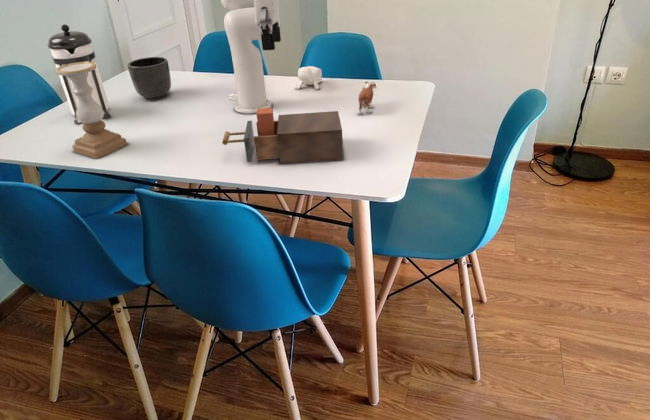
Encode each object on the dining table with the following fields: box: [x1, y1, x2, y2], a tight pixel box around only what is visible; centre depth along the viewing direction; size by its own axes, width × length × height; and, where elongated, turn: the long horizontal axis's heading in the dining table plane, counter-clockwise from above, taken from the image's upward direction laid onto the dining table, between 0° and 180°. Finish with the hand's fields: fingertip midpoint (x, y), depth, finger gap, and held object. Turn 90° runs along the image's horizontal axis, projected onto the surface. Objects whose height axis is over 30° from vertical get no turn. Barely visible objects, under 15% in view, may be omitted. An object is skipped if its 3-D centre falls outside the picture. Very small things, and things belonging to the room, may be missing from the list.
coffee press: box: [47, 23, 112, 125], centre depth 162 cm, size 17×16×30 cm
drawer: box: [222, 120, 280, 163], centre depth 133 cm, size 22×12×7 cm, turn 93°
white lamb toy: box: [295, 65, 323, 90], centre depth 182 cm, size 9×8×15 cm
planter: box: [127, 56, 172, 101], centre depth 180 cm, size 14×14×13 cm
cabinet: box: [277, 110, 344, 165], centre depth 134 cm, size 17×14×9 cm
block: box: [256, 107, 275, 136], centre depth 132 cm, size 4×4×10 cm
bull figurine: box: [358, 79, 378, 115], centre depth 159 cm, size 4×13×8 cm, turn 161°
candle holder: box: [54, 62, 128, 159], centre depth 139 cm, size 11×11×24 cm
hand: (272, 45), depth 133 cm, fingers open, 9 cm apart
